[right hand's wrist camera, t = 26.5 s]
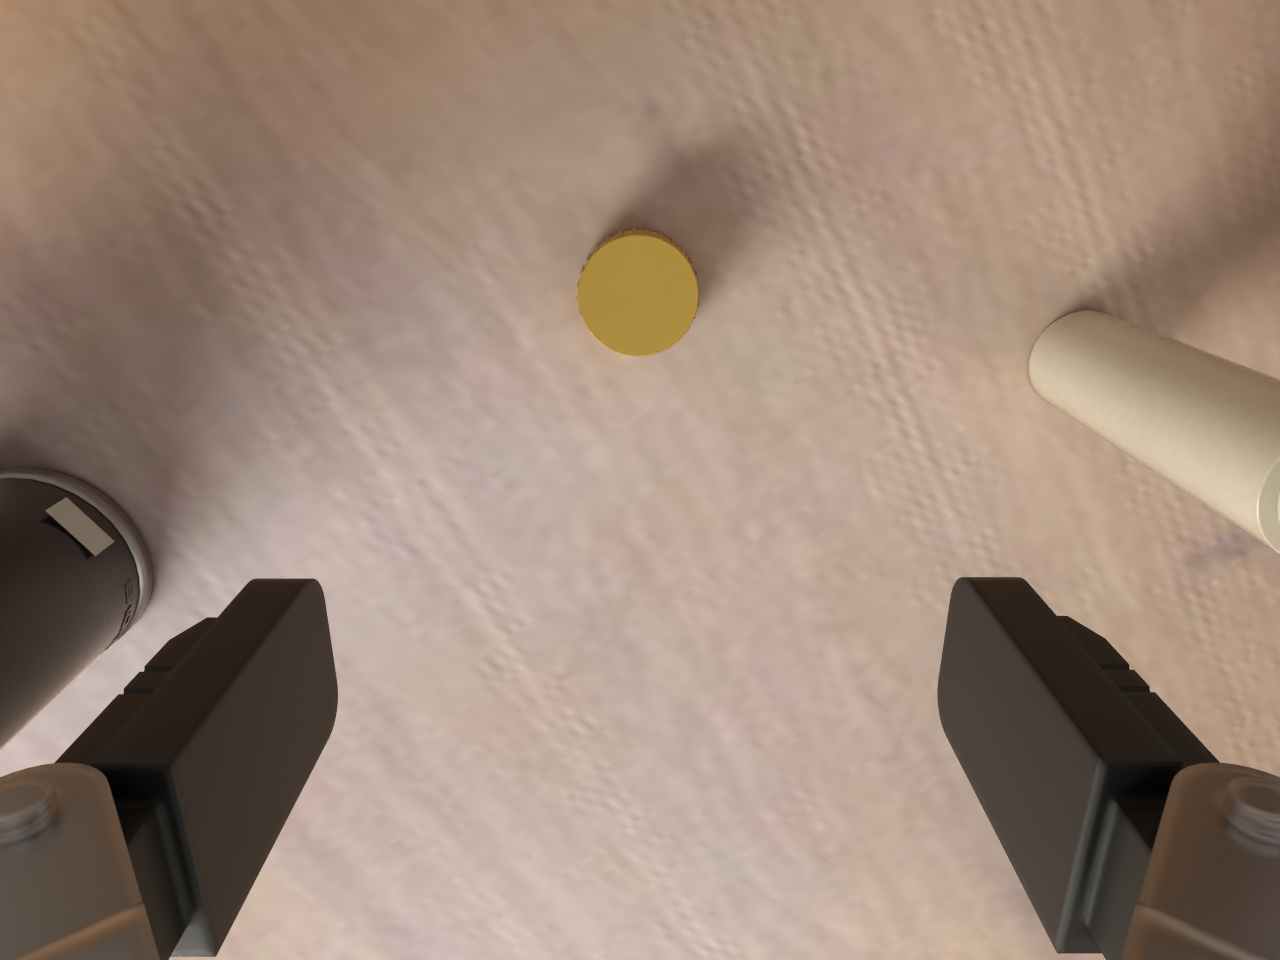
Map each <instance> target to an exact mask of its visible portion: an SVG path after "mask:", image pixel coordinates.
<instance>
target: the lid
mask: <svg viewBox="0 0 1280 960" xmlns="http://www.w3.org/2000/svg"><path fill="white" fill-rule="evenodd" d="M586 261H587V263H586V265H585V266H583V267H582V269H581V272H580V273H581V274H582V275H581V278H580V279H579V282H578V284H577V287H578V297H577V301H578V303H579V309H580V311H579V312H580V314H581V316H582V318H583V321H584V323H585V325H586V327H587V328H588V330H589V331H590V332H591V334H592V335H593V336H594V337H595V338H596V339H597V340H598V341H599V342H600V343H601V344H603V345H604V346H606V347H607V348H609V349H611V350H613V351H615V352H618V353H621V354H624V355H629V356H647V355H652V354H656V353H659V352H662V351H664V350H666V349H668V348H669V347H671V346H672V345H674V344H675V343H676V342H678V341H679V340H680V339H681V338H682V337H683V336H684V334H685V333H686V332H687V331H688V330H689V328H690V326H691V324H692V322H693V320H694V319H695V315H696V311H697V307H698V306H699V302H698V298H699V294H698V292H700V289H699V286H698V284H697V280H696V279H697V278H698V276H697V274H696V271H693V268H692V265H693V264H692V261H691V259H690V258H689V259H688V258H687V256H686V255H685V251H684V249H683V248H682V247H681V248H680V247H679V246H678V245H677V244H676V243H675V242H674V239H672V238H671V240H670V239H669V238H667V237H665V236H664V235H662V232H659V233H656V232H653V231H649V229H648V228H646V230H639V229H638V230H636V228H633V230H628V231H623V232H622V230H620V231H619V233H618V234H615V235H613V236H611V237H610V235H609V236H607V239H606V240H605V241H603V242H602V243H601V244H599V243H598V244H597V246H596V248H595V250H594V251H593V253H592V254H589V255H588V257H587V260H586Z"/></svg>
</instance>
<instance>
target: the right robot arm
mask: <svg viewBox="0 0 1280 960" xmlns="http://www.w3.org/2000/svg"><path fill="white" fill-rule="evenodd" d="M152 582H153V575H152V566H151V560H150V557H149V553H148V550H147V548H146V545H145V543H144V541H143V539H142V537H141V535H140V533H139V532H138V530H137V528H136V527H135V526H134V524H133V523H132V521H131V520H130V519H129V518H128V516H127V515H126V514H125V513H124V512H123V511H122V510H121V509H120V508H119V507H118V506H117V505H116V504H115V503H114V502H113V501H111V500H110V499H109V498H108V497H107V496H105V495H104V494H102V493H101V492H100V491H98V490H96V489H95V488H93V487H92V486H90V485H88V484H86V483H84V482H82V481H80V480H78V479H75V478H73V477H71V476H68V475H65V474H62V473H58V472H54V471H50V470H44V469H36V468H16V469H8V470H4V471H0V750H1V749H2V748H3V747H4V746H5V745H6V744H7V743H8V742H9V741H10V740H11V739H12V738H13V737H14V736H15V735H16V734H17V733H19V732H20V731H21V730H22V729H23V728H24V727H25V726H26V725H27V724H28V723H29V722H30V721H31V720H32V719H33V718H34V717H35V716H36V715H37V714H38V713H39V712H40V711H41V710H43V709H44V708H45V707H46V706H47V705H48V704H49V703H50V702H51V701H52V700H53V699H54V698H55V697H56V696H57V695H58V694H59V693H60V692H61V691H62V690H63V689H64V688H65V687H66V686H68V685H69V684H70V683H71V682H72V681H73V680H74V679H75V678H76V677H77V676H78V675H79V674H80V673H81V672H82V671H83V670H84V669H85V668H86V667H87V666H88V665H89V664H90V663H91V662H92V661H94V660H95V659H96V658H97V657H98V656H99V655H100V654H101V653H102V652H104V651H105V650H106V649H108V648H109V646H111V645H112V644H113V643H114V642H115V641H117V640H118V639H119V638H120V637H122V636H123V635H124V634H125V633H126V632H127V631H128V630H129V629H130V628H131V627H132V626H133V625H134V624H135V623H136V622H137V621H138V620H139V618H140V617H141V616H142V614H143V612H144V611H145V609H146V607H147V605H148V602H149V599H150V596H151V591H152ZM337 703H338V687H337V679H336V672H335V665H334V658H333V652H332V645H331V638H330V631H329V625H328V618H327V611H326V604H325V598H324V593H323V590H322V587H321V585H320V584H319V582H318V581H317V580H316V579H253V580H251V581H250V582H249V583H248V584H247V585H246V586H245V587H244V588H243V589H242V590H241V592H240V593H239V594H238V595H237V596H236V597H235V598H234V599H233V601H232V602H231V603H230V604H229V605H228V606H227V607H226V609H225V610H224V611H223V612H222V613H221V614H220V615H219V617H218V618H206V619H204V620H202V621H201V622H199V623H197V624H196V625H194V626H192V627H191V628H189V629H187V630H185V631H184V632H182V633H180V634H179V635H177V636H175V637H174V638H172V639H170V640H169V641H168V642H167V643H166V644H165V645H164V646H163V647H162V648H161V650H160V651H159V652H158V653H157V654H156V655H155V656H154V657H153V658H152V659H151V660H150V661H149V662H148V663H147V665H146V666H145V670H144V672H139V673H138V674H137V675H136V676H135V677H134V678H133V679H132V681H131V682H130V683H129V684H128V685H127V686H126V687H125V688H124V694H118V696H117V697H116V698H115V699H114V700H113V701H112V702H111V703H110V704H109V705H108V706H107V707H106V708H105V709H104V711H103V712H102V713H101V714H100V715H99V716H98V717H97V718H96V719H95V720H94V721H93V722H92V723H91V724H90V726H89V727H88V728H87V729H86V730H85V731H84V732H83V733H82V734H81V735H80V736H79V737H78V738H77V739H76V740H75V742H74V743H73V744H72V745H71V746H70V747H69V748H68V749H67V750H66V751H65V752H64V753H63V754H62V755H61V757H60V758H59V759H58V760H57V761H56V762H55V763H54V764H46V765H40V766H35V767H31V768H27V769H23V770H20V771H17V772H13V773H11V774H8V775H5V776H3V777H0V960H168V959H169V958H170V957H216V955H217V953H218V951H219V950H220V948H221V946H222V944H223V942H224V940H225V938H226V936H227V934H228V932H229V930H230V928H231V926H232V924H233V922H234V921H235V919H236V917H237V915H238V913H239V911H240V909H241V907H242V905H243V903H244V901H245V899H246V897H247V895H248V893H249V892H250V890H251V888H252V886H253V884H254V882H255V880H256V878H257V876H258V874H259V872H260V870H261V868H262V866H263V864H264V863H265V861H266V859H267V857H268V855H269V853H270V851H271V849H272V847H273V845H274V843H275V841H276V839H277V837H278V835H279V834H280V832H281V830H282V828H283V826H284V824H285V822H286V820H287V818H288V816H289V814H290V812H291V810H292V808H293V806H294V805H295V803H296V801H297V799H298V797H299V795H300V793H301V791H302V789H303V787H304V785H305V783H306V781H307V779H308V777H309V776H310V774H311V772H312V770H313V768H314V766H315V764H316V762H317V760H318V758H319V756H320V754H321V752H322V750H323V748H324V746H325V745H326V743H327V741H328V739H329V737H330V735H331V732H332V729H333V726H334V722H335V718H336V712H337ZM938 707H939V714H940V719H941V723H942V726H943V729H944V732H945V734H946V736H947V738H948V740H949V742H950V744H951V746H952V748H953V750H954V752H955V754H956V756H957V758H958V760H959V762H960V764H961V766H962V768H963V770H964V772H965V774H966V776H967V777H968V779H969V781H970V783H971V785H972V787H973V789H974V791H975V793H976V795H977V797H978V799H979V801H980V803H981V805H982V807H983V809H984V811H985V813H986V815H987V817H988V819H989V821H990V823H991V824H992V826H993V828H994V830H995V832H996V834H997V836H998V838H999V840H1000V842H1001V844H1002V846H1003V848H1004V850H1005V852H1006V854H1007V856H1008V858H1009V860H1010V862H1011V864H1012V866H1013V868H1014V869H1015V871H1016V873H1017V875H1018V877H1019V879H1020V881H1021V883H1022V885H1023V887H1024V889H1025V891H1026V893H1027V895H1028V897H1029V899H1030V901H1031V903H1032V905H1033V907H1034V909H1035V911H1036V913H1037V914H1038V916H1039V918H1040V920H1041V922H1042V924H1043V926H1044V928H1045V930H1046V932H1047V934H1048V936H1049V938H1050V940H1051V942H1052V944H1053V946H1054V948H1055V950H1056V952H1057V953H1103V955H1104V957H1105V958H1106V960H1280V777H1277V776H1275V775H1272V774H1269V773H1267V772H1263V771H1260V770H1257V769H1253V768H1249V767H1245V766H1240V765H1234V764H1226V763H1220V762H1219V761H1218V760H1217V759H1216V758H1215V757H1214V756H1213V755H1212V754H1211V752H1210V751H1209V750H1208V749H1207V748H1206V747H1205V746H1204V745H1203V744H1202V743H1201V742H1200V741H1199V739H1198V738H1197V737H1196V736H1195V735H1194V734H1193V733H1192V732H1191V731H1190V730H1189V729H1188V728H1187V727H1186V725H1185V724H1184V723H1183V722H1182V721H1181V720H1180V719H1179V718H1178V717H1177V716H1176V715H1175V714H1174V713H1173V711H1172V710H1171V709H1170V708H1169V707H1168V706H1167V705H1166V704H1165V703H1164V702H1163V701H1162V700H1161V698H1160V697H1159V696H1158V695H1157V694H1156V693H1155V692H1150V690H1149V686H1148V684H1147V683H1146V682H1145V681H1144V680H1143V679H1142V678H1141V677H1140V676H1139V675H1138V674H1137V673H1136V671H1135V670H1130V669H1129V664H1128V663H1127V662H1126V661H1125V660H1124V659H1123V657H1122V656H1121V655H1120V654H1119V653H1118V652H1117V651H1116V650H1115V649H1114V648H1113V647H1112V646H1111V644H1110V643H1109V642H1108V641H1107V640H1106V639H1105V638H1103V637H1102V636H1100V635H1098V634H1097V633H1095V632H1093V631H1092V630H1090V629H1088V628H1087V627H1085V626H1083V625H1082V624H1080V623H1078V622H1077V621H1075V620H1073V619H1071V618H1070V617H1068V616H1056V615H1055V614H1054V612H1053V611H1052V610H1051V609H1050V608H1049V607H1048V605H1047V604H1046V603H1045V602H1044V601H1043V600H1042V599H1041V597H1040V596H1039V595H1038V594H1037V593H1036V592H1035V591H1034V589H1033V588H1032V587H1031V586H1030V585H1029V584H1028V582H1027V581H1025V580H1024V579H1023V578H1020V577H961V578H959V579H958V580H957V581H956V582H955V584H954V586H953V589H952V593H951V598H950V605H949V612H948V618H947V625H946V632H945V639H944V646H943V653H942V659H941V666H940V673H939V680H938Z"/></svg>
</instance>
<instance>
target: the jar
mask: <svg viewBox="0 0 1280 960" xmlns="http://www.w3.org/2000/svg"><path fill="white" fill-rule="evenodd" d="M1029 375H1030V380H1031V383H1032V385H1033V387H1034V389H1035V391H1036V392H1037V394H1038V395H1039V396H1040V397H1041V398H1042V399H1044V400H1045V401H1046V402H1048V403H1049V404H1051V405H1052V406H1054V407H1055V408H1057V409H1058V410H1060V411H1062V412H1063V413H1065V414H1066V415H1068V416H1069V417H1071V418H1072V419H1074V420H1075V421H1077V422H1078V423H1080V424H1081V425H1083V426H1085V427H1086V428H1088V429H1089V430H1091V431H1092V432H1094V433H1095V434H1097V435H1098V436H1100V437H1101V438H1103V439H1104V440H1106V441H1107V442H1109V443H1111V444H1112V445H1114V446H1115V447H1117V448H1118V449H1120V450H1121V451H1123V452H1124V453H1126V454H1127V455H1129V456H1130V457H1132V458H1134V459H1135V460H1137V461H1138V462H1140V463H1141V464H1143V465H1144V466H1146V467H1147V468H1149V469H1150V470H1152V471H1153V472H1155V473H1157V474H1158V475H1160V476H1161V477H1163V478H1164V479H1166V480H1167V481H1169V482H1170V483H1172V484H1173V485H1175V486H1176V487H1178V488H1180V489H1181V490H1183V491H1184V492H1186V493H1187V494H1189V495H1190V496H1192V497H1193V498H1195V499H1196V500H1198V501H1199V502H1201V503H1202V504H1204V505H1206V506H1207V507H1209V508H1210V509H1212V510H1213V511H1215V512H1216V513H1218V514H1219V515H1221V516H1222V517H1224V518H1225V519H1227V520H1229V521H1230V522H1232V523H1233V524H1235V525H1236V526H1238V527H1239V528H1241V529H1242V530H1244V531H1245V532H1247V533H1248V534H1250V535H1252V536H1253V537H1255V538H1256V539H1258V540H1259V541H1261V542H1262V543H1264V544H1265V545H1267V546H1268V547H1270V548H1271V549H1273V550H1274V551H1276V552H1278V553H1279V554H1280V379H1278V378H1275V377H1272V376H1270V375H1267V374H1264V373H1262V372H1259V371H1257V370H1254V369H1251V368H1249V367H1246V366H1243V365H1241V364H1238V363H1235V362H1233V361H1230V360H1228V359H1225V358H1222V357H1220V356H1217V355H1214V354H1212V353H1209V352H1206V351H1204V350H1201V349H1199V348H1196V347H1193V346H1191V345H1188V344H1185V343H1183V342H1180V341H1178V340H1175V339H1172V338H1170V337H1167V336H1164V335H1162V334H1159V333H1156V332H1154V331H1151V330H1149V329H1146V328H1143V327H1141V326H1138V325H1135V324H1133V323H1130V322H1127V321H1125V320H1122V319H1120V318H1117V317H1114V316H1112V315H1109V314H1106V313H1104V312H1100V311H1094V310H1084V311H1077V312H1074V313H1070V314H1068V315H1065V316H1063V317H1062V318H1060V319H1058V320H1056V321H1055V322H1054V323H1052V324H1051V325H1050V326H1049V327H1048V328H1046V330H1045V331H1044V332H1043V333H1042V334H1041V335H1040V337H1039V338H1038V340H1037V341H1036V343H1035V345H1034V347H1033V350H1032V352H1031V356H1030V361H1029Z"/></svg>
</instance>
